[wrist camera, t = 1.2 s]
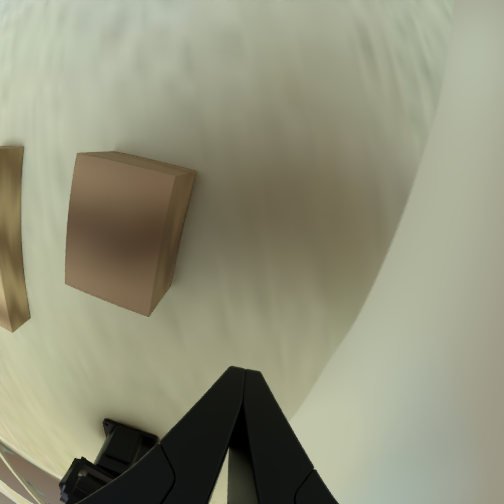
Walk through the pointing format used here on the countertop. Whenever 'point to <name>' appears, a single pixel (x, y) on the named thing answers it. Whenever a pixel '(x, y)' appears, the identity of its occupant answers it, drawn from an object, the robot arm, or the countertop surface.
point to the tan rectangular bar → (11, 242)
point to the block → (125, 227)
